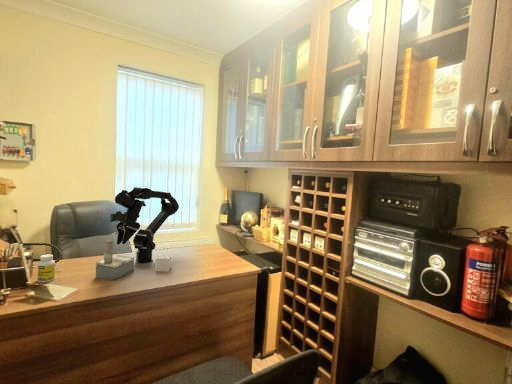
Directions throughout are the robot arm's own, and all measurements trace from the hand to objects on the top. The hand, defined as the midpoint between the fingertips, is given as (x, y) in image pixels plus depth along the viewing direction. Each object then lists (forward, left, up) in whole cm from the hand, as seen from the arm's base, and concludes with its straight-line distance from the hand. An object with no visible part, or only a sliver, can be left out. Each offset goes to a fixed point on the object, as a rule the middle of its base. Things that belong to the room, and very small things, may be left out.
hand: (120, 244), depth 124 cm
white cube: (-17, +8, -12) cm, 22 cm away
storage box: (+3, +4, -12) cm, 13 cm away
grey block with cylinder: (+3, +4, -7) cm, 8 cm away
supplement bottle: (+26, -3, -12) cm, 29 cm away
